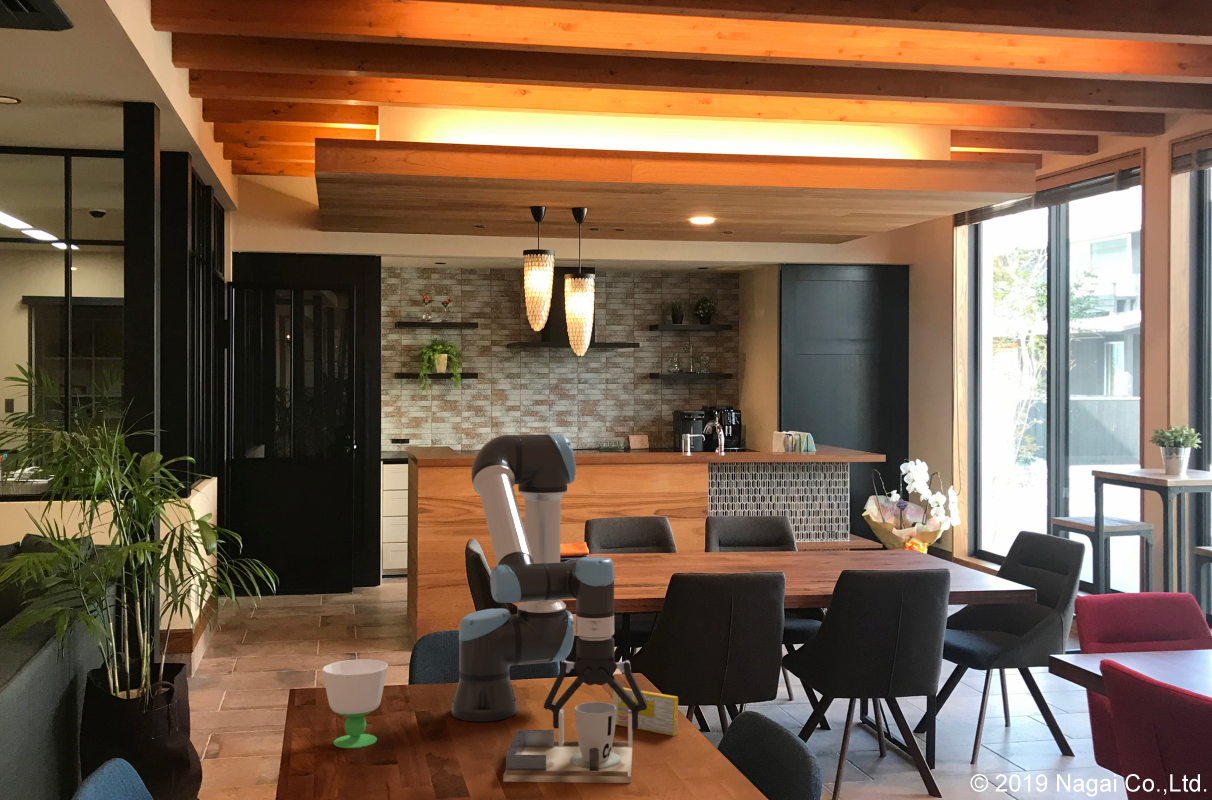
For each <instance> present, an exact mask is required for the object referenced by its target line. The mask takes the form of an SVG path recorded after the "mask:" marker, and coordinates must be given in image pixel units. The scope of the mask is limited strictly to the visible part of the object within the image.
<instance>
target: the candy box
mask: <svg viewBox="0 0 1212 800" xmlns="http://www.w3.org/2000/svg"><path fill="white" fill-rule="evenodd" d="M623 689H624V690H625V691H626V692H627V693H628V694H629V696H630V697H631V698H632V699H633V700H634V702H635V703H636V704H637V703H638V701H637V699H636V697H635V695H634V693H633V691H632V689H631V688H627V687H623ZM641 692H642V694H643V696H644V698H645V700H646V702H647V709H646V710H641V711H639V712H638V728H637V729H636V730H641V731H646V732H651V733H655V734H660V735H665V736H666V735H667V736H670V737H671V736H672V737H675V736H677V735H678V734H679V733H678V732H679V725H678V724H679V718H678V717H679V696H676V695H672V694H671V695H670V694H664V693H658V692H652V691H646V690H641ZM612 704H613V705H615V706H616V719H615V726H621V727H626V728H628V710H630V709H629V708H628V706H627V705H626V704H625V703H624V702H623V701H622V699H621V698H620V697H619V696H618V695H617V693H616V692H615V691H614V690H613V689H612Z"/></svg>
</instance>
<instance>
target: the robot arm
mask: <svg viewBox="0 0 1212 800" xmlns="http://www.w3.org/2000/svg"><path fill="white" fill-rule="evenodd" d="M576 467H577V466H576V459H575V454H574V450H573V447H572V444H571V442H570V440H569V439H568V438H567V437H566V436H564V435H561V434H560V435H559V434H551V433H550V434H549V433H545V434H544V433H541V434H539V433H537V434H504V435H499V436H496V437H494V438H493V439H491V440H488V442H486V443H485V444H484V445H483V446H482V447H481V448H480V450H479V451H478V452H477V454H476V456H475V458H474V460H473V463H472V466H471V474H470V475H471V482H472V486H473V490H474V491H475V492H476V493H475V494H477V495H479V496H480V501H481V504H482V510H483V512H484V516H485V521H486V525H487V529H488V533H489V537H490V540H491V546H492V549H493V552H494V553H493V554H494V557H495V558H494V559H495V561H496V566H493V567H492V569H491V571H490V577H489V579H490V581H489V583H490V592H491V596H492V599H493V600H494V601H495V602H496V603H505V604H517V603H518V604H517V605H516V606H517V611H516V612H517V613H516V614H511V613H510V611H509V610H508V609H507V608H502V607H500V608H486V609H482V610H477V611H474V612H471V613H468V614H466V615H465V616H464V617H463V618H462V619H461V620H460V622H459V631H458V634H459V635H458V643H459V649H458V650H459V654H458V655H459V657H458V658H459V660H458V661H459V663H458V665H459V670H458V671H459V675H458V676H459V681H458V683H457V687H456V691H455V695H454V699H453V701H452V703H451V715H452V716H453V717H454V718H455V719H458V720H460V721H461V720H462V721H467V722H483V723H484V722H493V721H494V722H496V721H500V720H505V719H508V718H510V717H511V718H512V717H513V716H515V715H516V714H517V713H518V701H517V698H516V695H515V692H514V691H515V690H514V689H513V685H512V682H511V677H510V667H511V666H519V665H520V666H521V665H531V664H532V665H534V664H535V665H536V664H551V663H553V662H554V663H555V662H560V665H559V673H558V675H557V677H556V679H555V681H554V684H552V687H551V689H550V691H549V693H548V695H547V698H546V699H545V701H544V703H543V704H544V705H543V708H544V709H545V710H549V711H551V712H552V726H553V728H554V729H558V741H559V747H563V743H564V741H565V739H564V737H565V735H564V733H565V728H564V725H565V721H564V720H565V718H564V716H565V715H564V714H565V710H564V709H562V708H563V707H564V706H565V704H567V702H568V701H569V699H570V698H571V697H572V696H573V695H574V694H575V692H576V691H577V690H578V689H579V688H580V687H581V686H582V685H583V683H584V684H585V685H587V686H593V685H597V686H604V685H606V684H607V685H608V686H609V687H610V688H612V691H613V690H614V691H615V692H616V693H617V695H618V696H619V697H620V698H621V699H622V701H623V702H624V703H625V704H626V705H627V706H628V708H629V709H630V710H628V727H627V739H628V740H627V742H628V747H632V748H633V730H638V729H637V728H638V712H639V711H641V710H646V709H647V702H646V700H645V698H644V696H643V694H642V692H641V691H642V690H641V688H640V686H639V684H638V682H637V679H636V677H635V676H634V674H633V672H632V668H631V667H632V666H631V661H630V660H629V659H626V660H624V661H618V662H617V661H616V658H615V638H614V637H613V635H615V579H616V575H615V568H614V567H615V566H614V561H613V560H612V559H611V558H610V557H604V556H583V557H580V558H579V559H575V558H571V559H568V560H565V561H562V562H561V526H562V525H561V524H562V523H561V521H562V520H561V514H562V513H561V510H562V509H561V508H562V507H561V506H562V503H561V502H562V501H561V500H562V497H564V496H565V495H566V494H567V492H568V485H571V484H573V483H574V481H575V479H576V475H577V468H576ZM515 485H518V486H517V487H518V490H517V491H518V493H519V494H520V495H521V496H522V497H523V498H524V520H523V517H522V515H521V510H520V508H519V507H520V506H519V504H518V501H517V500H518V499H517V497H516V493H515V490H514V486H515ZM523 521H524V522H523ZM563 600H576V601H575V605H576V606H575V607H576V608H575V615H576V617H575V618H576V619H575V620H574V616H573V614H572V613H571V611H569V610H567V604H566V603H565V602H564V601H563ZM575 622H576V623H575ZM574 623H575V625H576V626H575V625H574ZM575 629H576V631H575ZM575 632H576V633H575ZM575 634H576V635H577V637H576V642H575V641H574V640H575ZM574 642H575V643H576V644H575V650H576V651H575V652H576V653H575V655H576V656H575V657H576V659H575V661H568V660H567V657H569V655H570V653H571V652H572V649H573V645H574ZM572 669H574V671H575V673H577V675H578V676H576V678H575V680H574V681H573V682H572V683H571V684H570V685H569V686H568V688H567V689H566V690H565V692H563V694H562V695H561V696H560V697H559V698H558V700H557V701H555V702H554V699H555V697H556V695H557V693H558V692H559V689H560V687H561V685H562V683H563V682H564V679H565V677H566V674H569V673H570V672H571V670H572ZM617 669H618V670H619V671H620V673H621V674H624V676H625V679H626V681H627V683H628V685H629V687H630V689H632V691H633V693H634V695H635V697H636V699H637V701H638V703H637V704H636V703H635V702H634V700H633V699H632V698H631V697H630V696H629V694H628V693H627V692H626V691H625V690H624V689H623V688H624V687H623V686H622V685H621V684H620V682H619V681H618V680H617V678H616V677H615V676H614V674H615V672H616V671H617Z"/></svg>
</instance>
